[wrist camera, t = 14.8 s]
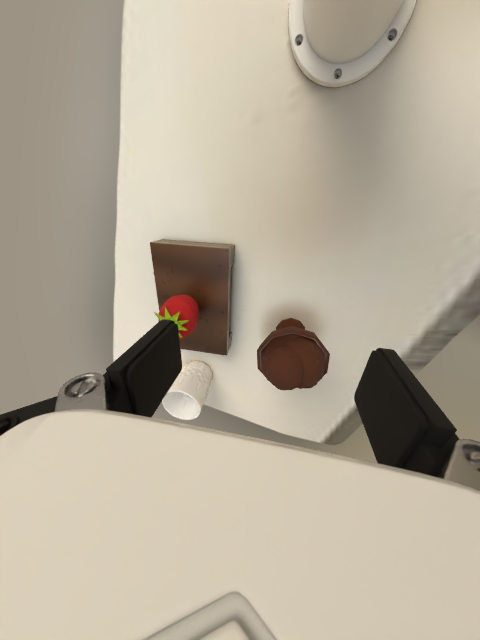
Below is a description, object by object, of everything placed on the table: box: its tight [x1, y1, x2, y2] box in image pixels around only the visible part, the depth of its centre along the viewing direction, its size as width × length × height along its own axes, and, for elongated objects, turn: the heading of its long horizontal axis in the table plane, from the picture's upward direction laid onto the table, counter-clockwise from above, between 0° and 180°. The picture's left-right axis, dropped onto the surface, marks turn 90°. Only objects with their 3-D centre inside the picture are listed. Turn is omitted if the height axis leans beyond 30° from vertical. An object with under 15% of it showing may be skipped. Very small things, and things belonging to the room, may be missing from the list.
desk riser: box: [150, 239, 234, 355], centre depth 40 cm, size 20×13×4 cm, turn 177°
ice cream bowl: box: [257, 318, 330, 390], centre depth 35 cm, size 11×11×15 cm
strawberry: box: [154, 295, 199, 339], centre depth 34 cm, size 6×8×10 cm
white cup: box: [162, 361, 212, 420], centre depth 46 cm, size 8×8×10 cm
